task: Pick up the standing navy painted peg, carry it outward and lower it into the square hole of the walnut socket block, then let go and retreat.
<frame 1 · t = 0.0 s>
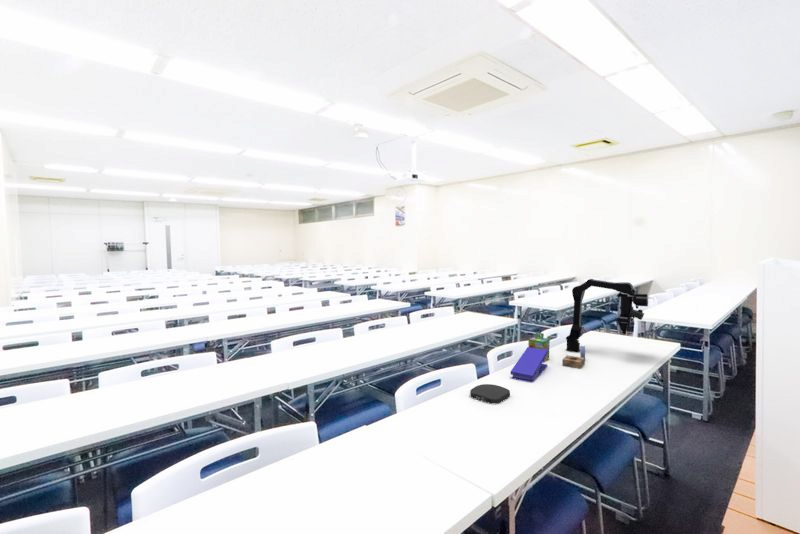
hand: (625, 332, 218), 15 cm above the table, fingers open, 9 cm apart
socket: (573, 365, 209), on the table
peg: (582, 360, 216), on the table
purple foot pedal: (530, 373, 200), on the table
media streaming box: (490, 396, 171), on the table
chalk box: (538, 359, 222), on the table
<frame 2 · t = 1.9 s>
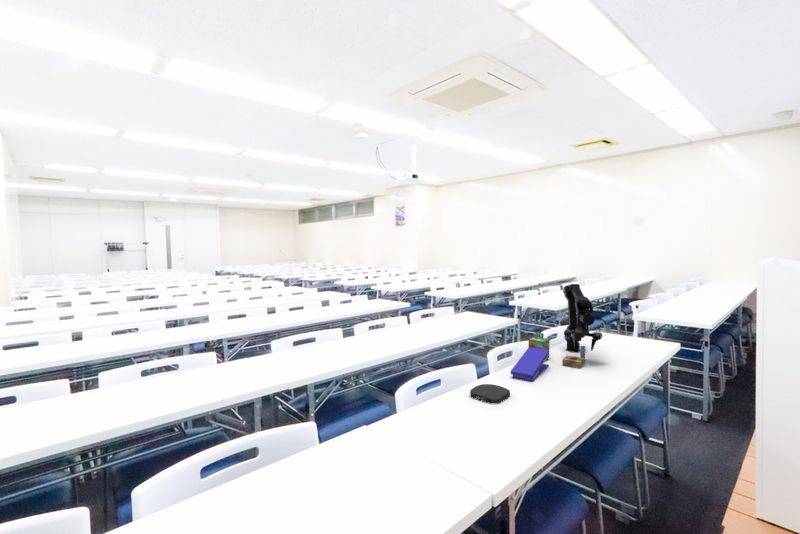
hand: (582, 349, 216), 6 cm above the table, fingers open, 9 cm apart
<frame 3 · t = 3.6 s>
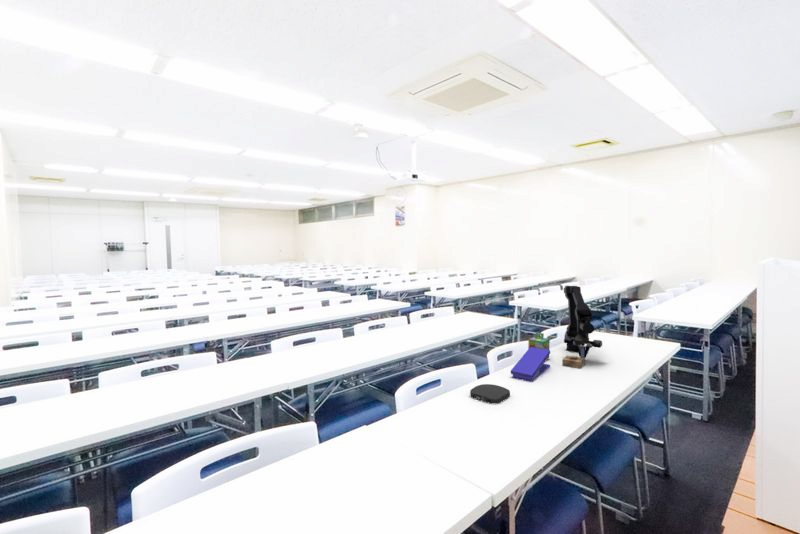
hand: (582, 356, 216), 2 cm above the table, fingers closed on peg, 2 cm apart
peg: (582, 360, 216), on the table, touching gripper
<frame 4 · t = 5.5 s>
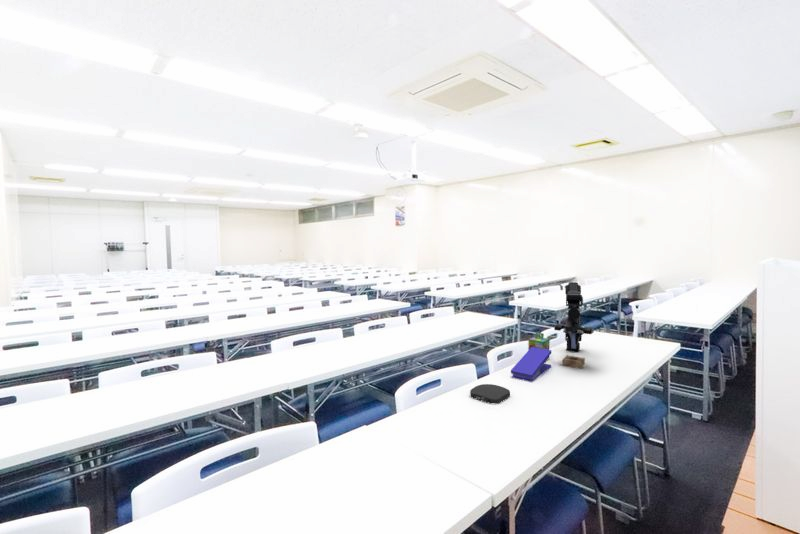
hand: (573, 344, 208), 11 cm above the table, fingers closed on peg, 2 cm apart
peg: (573, 348, 208), point 9 cm above the table, touching gripper
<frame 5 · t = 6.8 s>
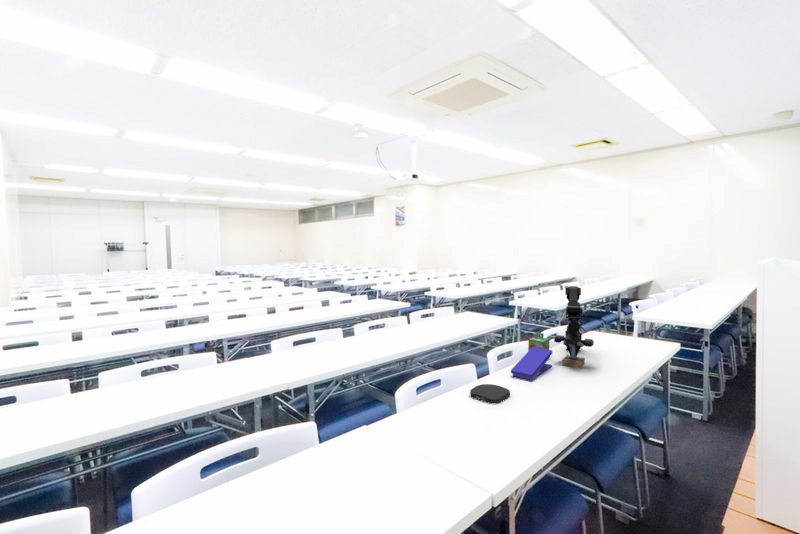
hand: (573, 356, 209), 5 cm above the table, fingers closed on peg, 2 cm apart
peg: (573, 360, 209), point 3 cm above the table, touching gripper
when the fingers open (4 cm above the table, at t = 7.6 s): peg drops 2 cm, resting in socket.
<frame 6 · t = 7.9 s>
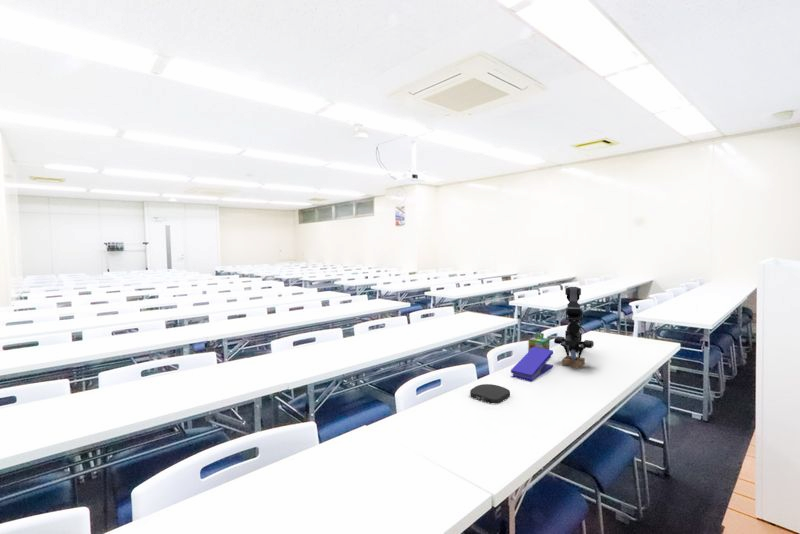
hand: (573, 357, 209), 4 cm above the table, fingers open, 5 cm apart
peg: (573, 365, 209), resting in socket
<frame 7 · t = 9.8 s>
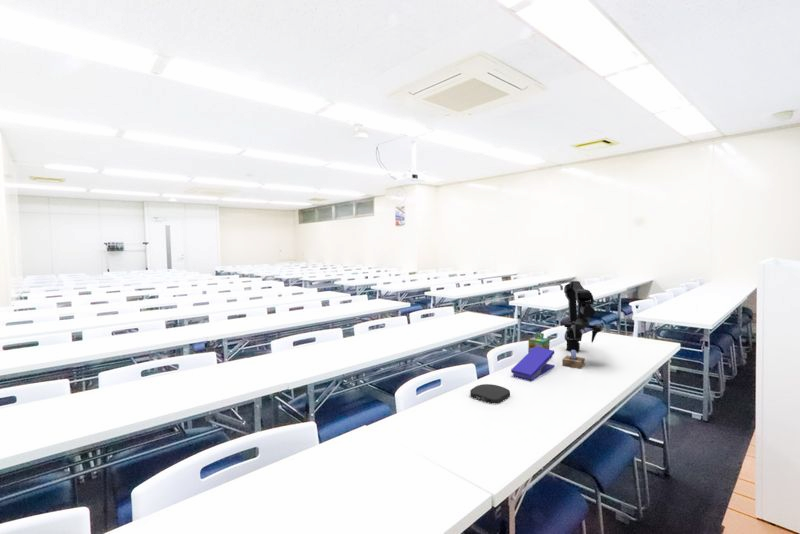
hand: (583, 341, 214), 11 cm above the table, fingers open, 9 cm apart
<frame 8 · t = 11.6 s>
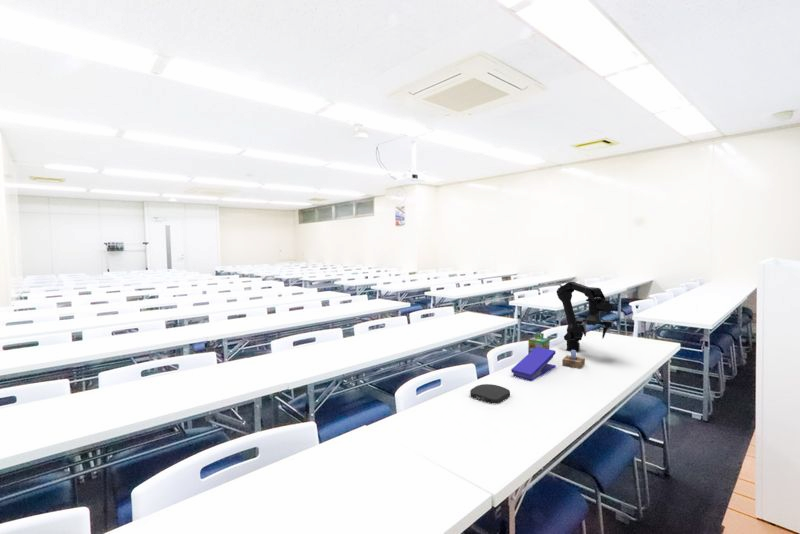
hand: (594, 337, 219), 12 cm above the table, fingers open, 9 cm apart
at the end: peg 0.0 cm off-centre on the socket, point 0.0 cm above the socket's base; peg tilted 0°; the gripper is holding nothing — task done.
